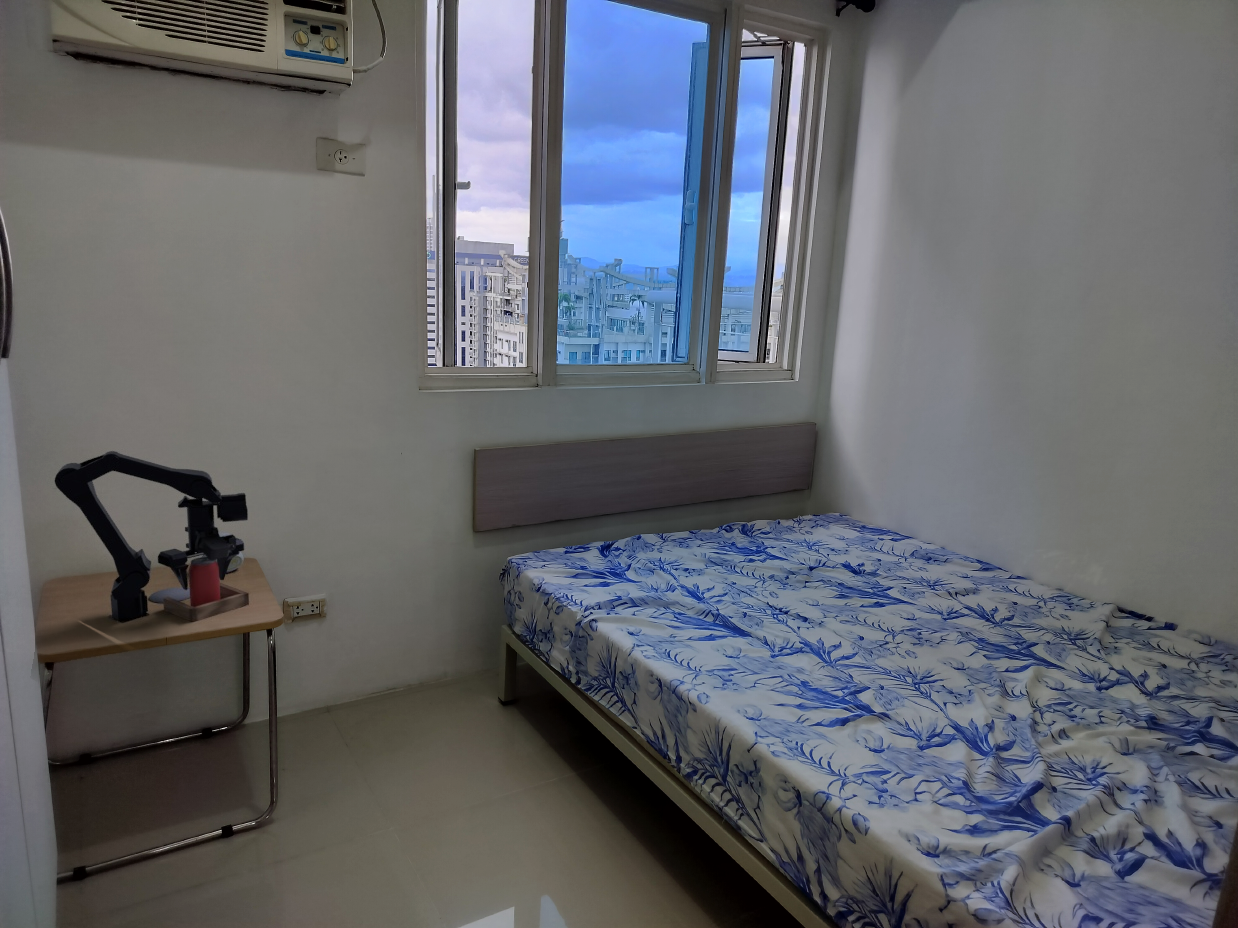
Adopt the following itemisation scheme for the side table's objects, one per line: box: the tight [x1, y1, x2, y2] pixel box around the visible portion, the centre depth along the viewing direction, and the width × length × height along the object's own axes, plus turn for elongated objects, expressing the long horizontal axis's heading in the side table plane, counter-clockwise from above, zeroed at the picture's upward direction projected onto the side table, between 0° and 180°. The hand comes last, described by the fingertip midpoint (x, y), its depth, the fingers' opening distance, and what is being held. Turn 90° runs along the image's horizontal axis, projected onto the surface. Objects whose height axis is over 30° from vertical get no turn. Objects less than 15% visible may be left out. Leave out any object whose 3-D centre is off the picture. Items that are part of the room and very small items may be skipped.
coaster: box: [149, 587, 190, 604], centre depth 200 cm, size 10×10×1 cm
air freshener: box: [201, 532, 245, 574], centre depth 220 cm, size 11×8×10 cm
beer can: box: [188, 556, 221, 607], centre depth 194 cm, size 7×7×12 cm
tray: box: [163, 582, 250, 623], centre depth 194 cm, size 14×12×3 cm
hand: (204, 584), depth 194 cm, fingers open, 9 cm apart
